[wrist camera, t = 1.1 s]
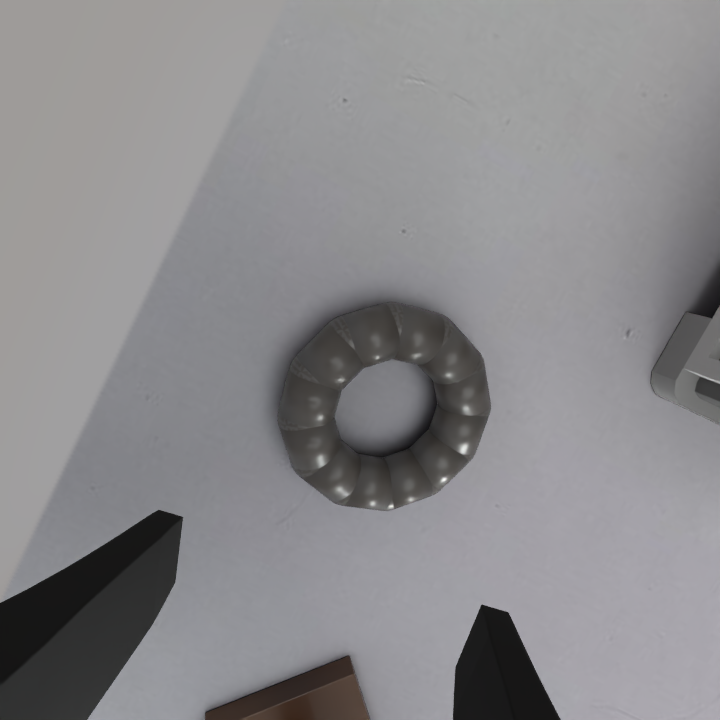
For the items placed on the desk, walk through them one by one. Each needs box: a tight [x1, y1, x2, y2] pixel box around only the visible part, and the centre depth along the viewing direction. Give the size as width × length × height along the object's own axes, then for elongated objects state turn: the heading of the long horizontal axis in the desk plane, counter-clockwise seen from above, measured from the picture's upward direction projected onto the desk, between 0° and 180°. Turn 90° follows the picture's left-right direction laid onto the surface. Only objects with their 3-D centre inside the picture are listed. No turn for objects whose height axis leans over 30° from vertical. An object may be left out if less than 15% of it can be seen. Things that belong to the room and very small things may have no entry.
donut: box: [277, 302, 491, 511], centre depth 23 cm, size 10×10×2 cm
